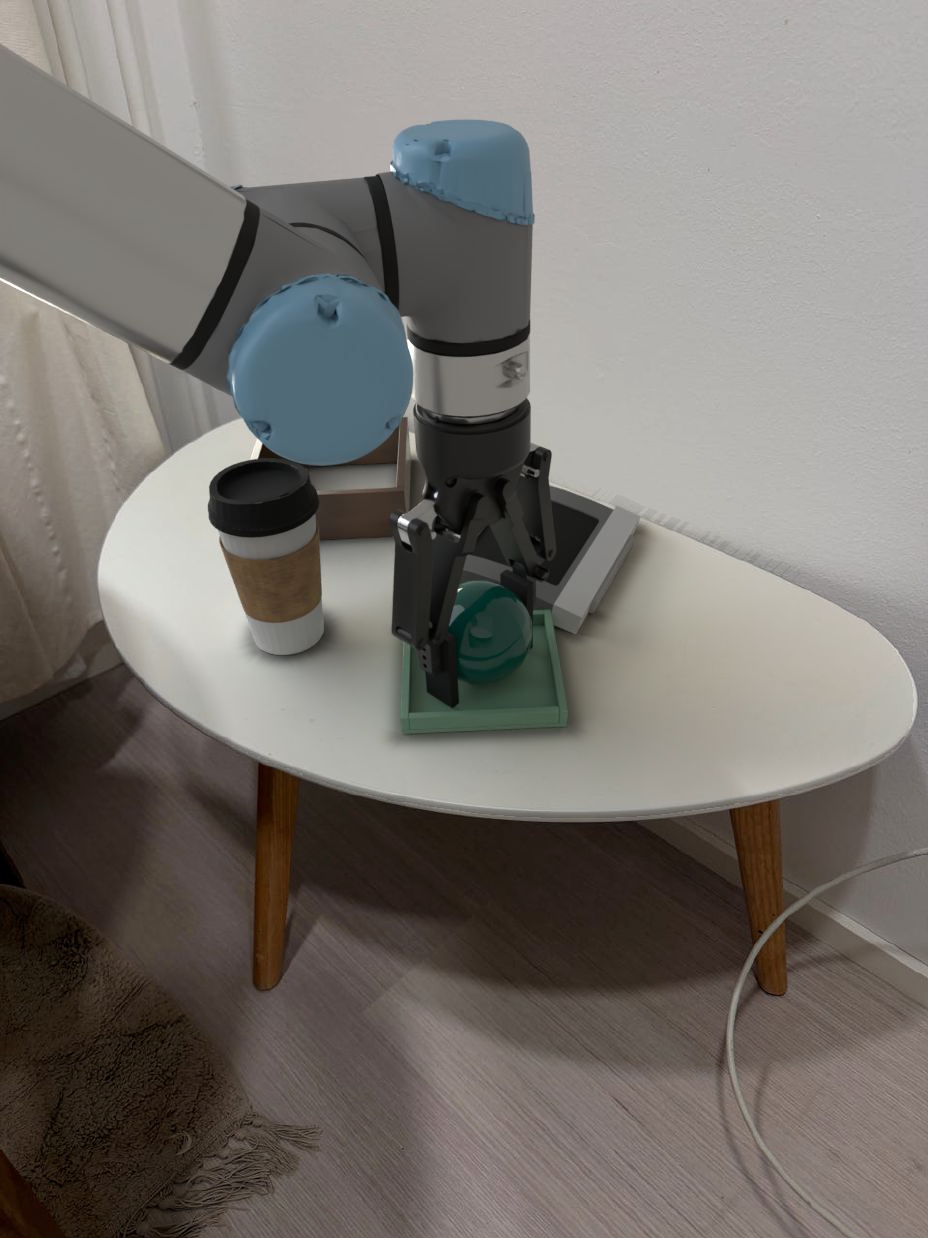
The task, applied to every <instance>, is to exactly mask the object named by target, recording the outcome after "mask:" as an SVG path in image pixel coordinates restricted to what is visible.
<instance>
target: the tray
mask: <svg viewBox="0 0 928 1238" xmlns="http://www.w3.org/2000/svg"><path fill="white" fill-rule="evenodd" d="M402 643H403V644H402V645H403V646H402V669H401V670H402V673H401V697H400V698H401V699H400V700H401V701H400V724H401V725H400V726H401V734H402V735H410V734H411V735H412V734H414V735H415V734H434V733H435V734H436V733H437V734H438V733H455V732H456V733H457V732H458V733H459V732H479V731H502V730H520V729H543V728H544V729H545V728H560V727H561V728H564V727H568V713H569V710H568V704H567V698H566V691H565V686H564V679H563V675H562V668H561V662H560V656H559V650H558V644H557V638H556V631H555V626H554V625H553V620H552V614H551V610H548V609H547V610H533V648H531V649H530V651H529V653H528V655H527V656H526V658H525V660H524V662H523V663H522V665H521V666H520V667H519V668H518V669H517V670H516V671H515V672H514V673H513V674H511V675H510V676H509V677H507V678H505V679H503V680H501V681H499V682H496V683H492V684H486V685H475V684H469V683H465V682H461V681H459V680H458V692H459V704H457V705H456V706H455V707H453V708H451V707H449V706H448V705H446V704H445V703H443V702H442V701H440V700H438V699H437V698H435V697H434V696H432V695H431V694H429V693H427V687H426V675H425V671H423V670H422V669H421V668H420V666H419V662H418V660H419V659H418V651H417V650H416V649H415V648H413V647H411V646H410V645H408V644H407V643H405V642H403V641H402Z"/></svg>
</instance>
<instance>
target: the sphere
mask: <svg viewBox="0 0 928 1238" xmlns="http://www.w3.org/2000/svg"><path fill="white" fill-rule="evenodd" d="M447 632H448V633H450V634H452V635H454V636H455V638H456V656H457V674H458V680H459V681H461V682H465V683H469V684H475V685H486V684H492V683H496V682H499V681H501V680H503V679H505V678H507V677H509V676H510V675H511V674H513V673H514V672H515V671H516V670H517V669H518V668H519V667H520V666H521V665H522V663H523V662H524V660H525V658H526V656H527V655H528V653H529V651H530V648H531V643H532V632H533V627H532V621H531V617H530V615H529V613H528V610H527V608H526V606H525V604H524V602H523V601H522V600H521V599H520V598H519V597H518V596H517V595H516V594H515V593H514V592H513V591H512V590H511V589H509V588H508V587H506V586H504V585H502V584H499V583H497V582H493V581H488V580H473V581H467V582H464V583H462V584H459V588H458V592H457V596H456V600H455V604H454V607H453V611H452V615H451V619H450V623H449V627H448V631H447Z"/></svg>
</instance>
